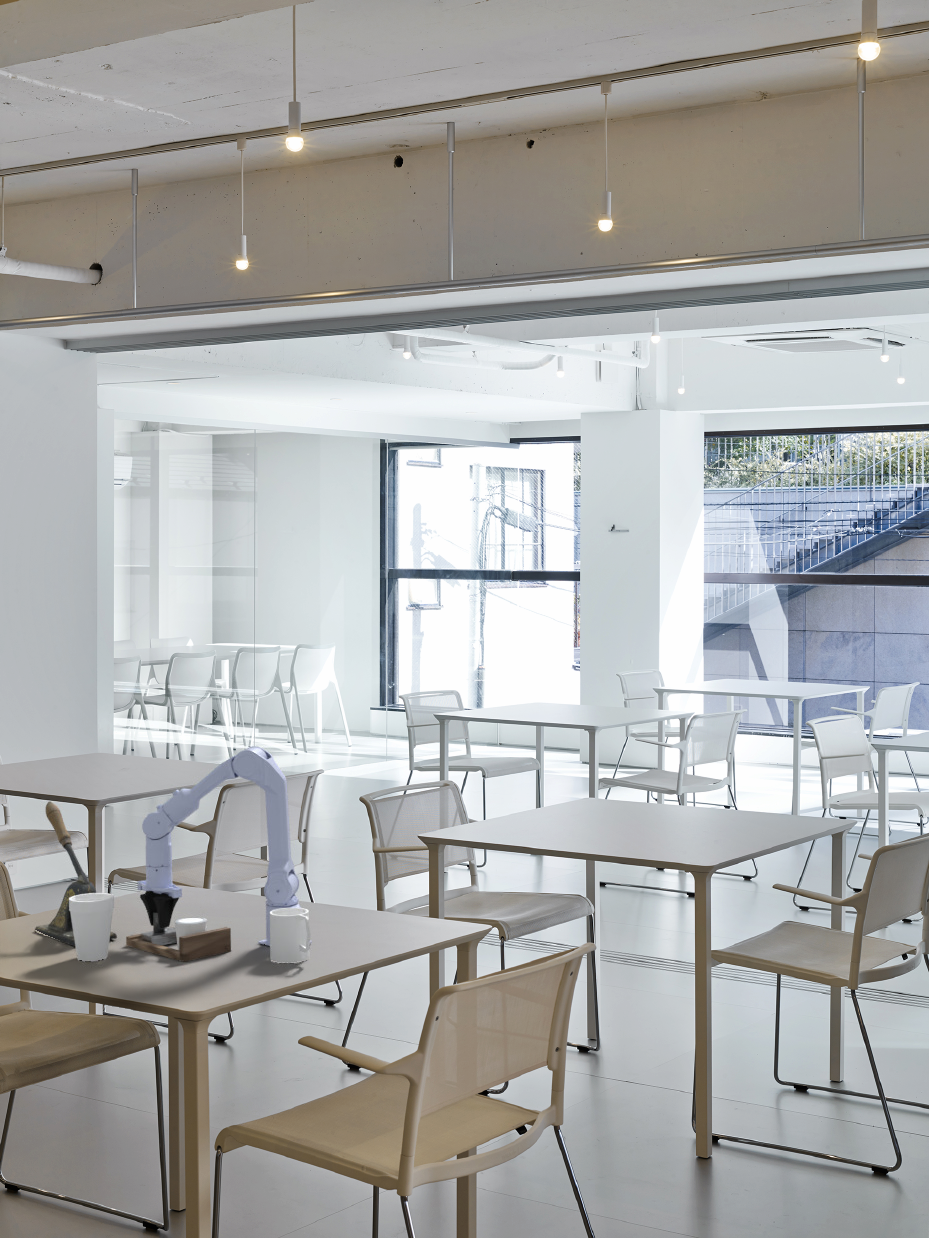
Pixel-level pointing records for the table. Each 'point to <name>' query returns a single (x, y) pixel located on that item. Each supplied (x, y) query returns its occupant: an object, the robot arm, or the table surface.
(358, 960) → the table surface
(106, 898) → the foam cup
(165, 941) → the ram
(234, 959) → the table surface
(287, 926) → the cup
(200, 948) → the wooden tray
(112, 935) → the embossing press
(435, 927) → the table surface
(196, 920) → the white tapered cylinder
